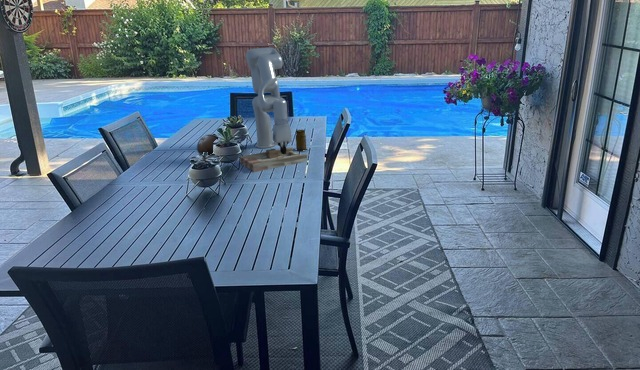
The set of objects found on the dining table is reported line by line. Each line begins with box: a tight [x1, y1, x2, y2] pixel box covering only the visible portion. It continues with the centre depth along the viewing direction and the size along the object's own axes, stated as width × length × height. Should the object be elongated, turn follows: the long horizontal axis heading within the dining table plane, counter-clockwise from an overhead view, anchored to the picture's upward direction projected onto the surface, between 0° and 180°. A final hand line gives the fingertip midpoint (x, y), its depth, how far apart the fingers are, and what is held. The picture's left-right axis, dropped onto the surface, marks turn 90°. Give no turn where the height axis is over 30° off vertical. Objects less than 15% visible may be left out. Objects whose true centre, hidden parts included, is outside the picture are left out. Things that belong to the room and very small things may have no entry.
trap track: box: [239, 146, 308, 173], centre depth 269 cm, size 20×32×4 cm, turn 119°
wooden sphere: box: [196, 134, 220, 156], centre depth 279 cm, size 15×15×15 cm
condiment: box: [293, 129, 307, 153], centre depth 291 cm, size 7×8×12 cm
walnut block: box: [265, 148, 279, 159], centre depth 273 cm, size 5×5×4 cm
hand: (283, 153), depth 276 cm, fingers closed
